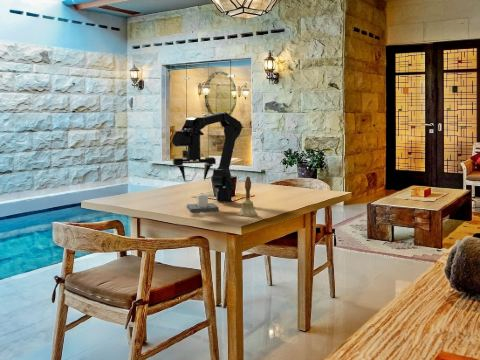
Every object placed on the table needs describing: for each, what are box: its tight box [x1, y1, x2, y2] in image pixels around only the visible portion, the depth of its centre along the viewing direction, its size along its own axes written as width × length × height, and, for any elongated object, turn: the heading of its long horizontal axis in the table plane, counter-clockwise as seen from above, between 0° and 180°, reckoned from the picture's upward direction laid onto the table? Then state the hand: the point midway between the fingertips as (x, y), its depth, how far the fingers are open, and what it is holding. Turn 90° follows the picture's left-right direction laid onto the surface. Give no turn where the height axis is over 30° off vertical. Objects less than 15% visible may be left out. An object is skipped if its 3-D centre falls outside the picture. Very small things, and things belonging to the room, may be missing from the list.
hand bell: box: [237, 176, 258, 217], centre depth 215 cm, size 8×8×16 cm
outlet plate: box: [186, 202, 220, 213], centre depth 229 cm, size 12×12×2 cm
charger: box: [196, 194, 209, 207], centre depth 228 cm, size 4×4×6 cm
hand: (194, 180), depth 234 cm, fingers open, 9 cm apart
